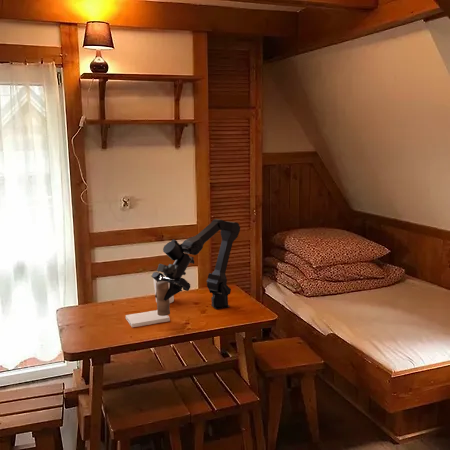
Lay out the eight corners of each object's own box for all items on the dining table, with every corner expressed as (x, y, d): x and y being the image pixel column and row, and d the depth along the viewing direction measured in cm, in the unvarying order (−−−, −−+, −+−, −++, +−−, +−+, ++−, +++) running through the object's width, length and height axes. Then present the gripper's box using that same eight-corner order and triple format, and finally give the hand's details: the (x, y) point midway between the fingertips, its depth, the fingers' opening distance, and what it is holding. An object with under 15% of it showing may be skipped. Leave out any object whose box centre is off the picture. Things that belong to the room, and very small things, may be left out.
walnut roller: (167, 310, 219) (166, 280, 217) (171, 314, 215) (169, 283, 213) (156, 312, 218) (154, 282, 215) (159, 316, 213) (157, 285, 211)
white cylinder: (157, 298, 257) (156, 273, 255) (177, 298, 255) (176, 273, 253) (152, 304, 247) (150, 279, 245) (172, 304, 246) (171, 279, 244)
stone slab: (161, 312, 235) (161, 309, 235) (169, 320, 224) (169, 317, 224) (125, 318, 229) (125, 315, 229) (132, 327, 218) (131, 323, 218)
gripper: (153, 252, 221) (133, 284, 216) (183, 258, 209) (163, 292, 203) (169, 267, 228) (150, 298, 222) (199, 274, 215) (179, 307, 210)
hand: (160, 298), depth 214 cm, fingers closed on walnut roller, 5 cm apart
